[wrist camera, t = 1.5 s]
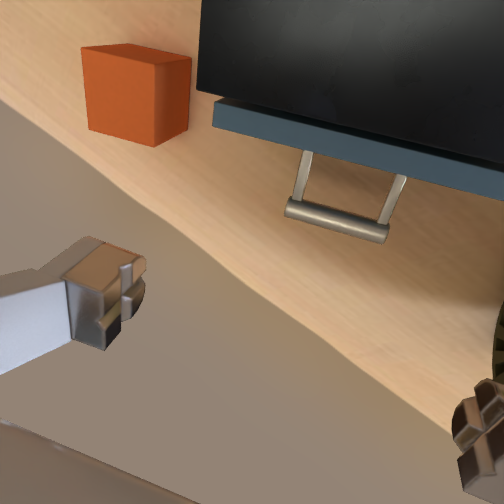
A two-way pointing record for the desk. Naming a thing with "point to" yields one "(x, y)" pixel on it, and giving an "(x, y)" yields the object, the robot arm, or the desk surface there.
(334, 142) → the drawer
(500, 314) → the cannon
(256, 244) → the desk surface
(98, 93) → the block
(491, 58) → the cabinet
